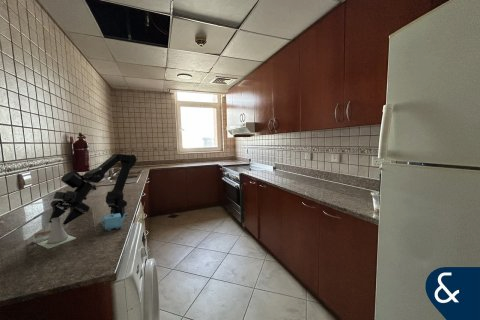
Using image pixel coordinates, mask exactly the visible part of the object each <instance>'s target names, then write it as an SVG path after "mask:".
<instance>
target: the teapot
mask: <svg viewBox="0 0 480 320" xmlns="http://www.w3.org/2000/svg"><path fill="white" fill-rule="evenodd" d="M126 214H128V212H125V214H124V215H123V217H122V218H121V215H120V213H118V214H111V213H110V214H109V215H104V216H103V218H101V220H100V223H101V224H102V228H104V230H105V231H107V232H111V231H112V229H116V230H118V229H120V228H121V227H123V224H122V223H123V222H124V220H125V219H126V216H127V215H126Z"/></svg>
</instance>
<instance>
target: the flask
mask: <svg viewBox="0 0 480 320" xmlns="http://www.w3.org/2000/svg"><path fill="white" fill-rule="evenodd" d="M51 221H52V223H51V228H50V229H51V232H50V233H49V234H48V235H49V238H48V241H47V243H57V242H61V241H63V240H65V239H67V238H68V235H69V234H67V232H66V230H65V229H64V228H63V226H62V224H61V216H60V217H58V218H53V219H51Z"/></svg>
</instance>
